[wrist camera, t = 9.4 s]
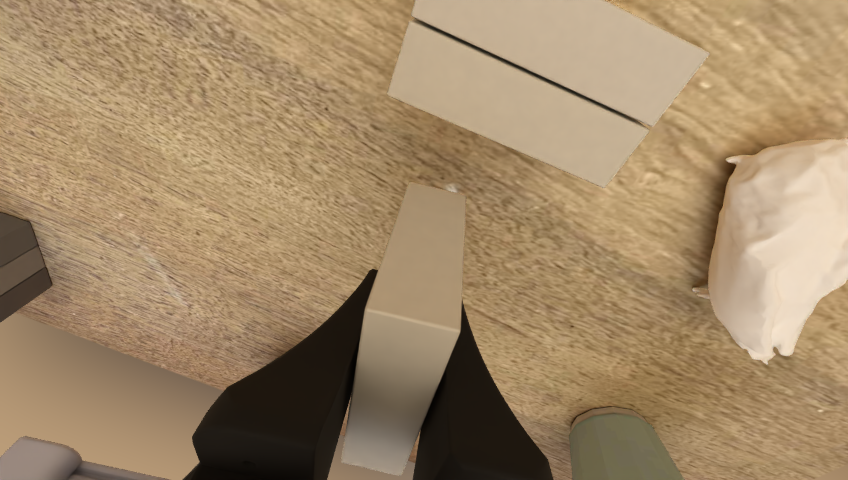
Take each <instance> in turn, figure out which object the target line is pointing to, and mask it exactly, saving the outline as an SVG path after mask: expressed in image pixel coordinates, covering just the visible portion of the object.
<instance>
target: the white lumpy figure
mask: <svg viewBox="0 0 848 480" xmlns="http://www.w3.org/2000/svg"><path fill="white" fill-rule="evenodd" d="M726 161H727V162H730V163H734V164H736V168H735V170H734V172H733V174H732V175H731V176H730V178H729V180H728V183H727V185H726V192H725V196H724V202H723V207H722V209H721V211H720V213H719V221H718V226H717V230H716V237H715V243H714V246H713V249H712V254H711V259H710V264H709V270H708V271H709V275H708V277H709V278H708V288H709V290H708V289H703V288H697V287H694V288H692V290H693V292H700V293H696V295H697V296H699V297H704V298H707V299H710V300H711V304H712V307H713V311H714V313H715V316H716V317H717V318H718V319H719V321H720V322H721V323H722V324H723V325H724V326H725V328H726V329H727V330H728V331H729V333H730V335H731V337H732V338H733V339H734V341H735V342H736V343H737V344H738V345H739V346H740V347H741V348H742V349H748V352H749V354H750V355H751V358H753V359H756V360H762V362H764V363H765V364H767V365H768V362H767V361H768V360H770V359H771V358H772V357H773V356H775V355H776V354H775V353H773V347H774V346H775V347H777V348H778V350H779V353H780V354H781V355H784V356H789V355H791V354H792V353H793V351H794V347H795V344H796V341H797V339H798V337H799V335H800V332H801V330H802V328H803V326H804V324H805V322H806V319H807V318H808V317H809V316H810V315H811V314H812V312H813V310H814V308H815V306H816V304H817V302H818V301H819V300H820V299H821V298H822V297H824V296H826V295H827V294H828V293H830V292H831V291H833V290H835V289H837V288H839V287H841V286H842V285H843V284H845V282H846V281H847V280H848V138H843V139H840V140H836V139H822V140H804V141H794V142H791V143H788V144H783V145H778V146H771V147H767V148H765V149H763V150H761V151H760V152H759V153H757V154H755V155H737V156H732V157H729V158H726Z"/></svg>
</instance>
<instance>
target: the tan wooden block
mask: <svg viewBox="0 0 848 480" xmlns="http://www.w3.org/2000/svg"><path fill="white" fill-rule="evenodd" d="M465 217H466V195H463V194H459V193H455V192H451V191H447V190H443V189H439V188H434V187H430V186H426V185H422V184H418V183H414V182H409V183H408V185H407V188H406V191H405V194H404V197H403V200H402V203H401V206H400V209H399V212H398V214H397V217H396V220H395V223H394V226H393V229H392V232H391V235H390V238H389V241H388V243H387V246H386V249H385V252H384V255H383V258H382V261H381V264H380V267H379V270H378V272H377V275H376V278H375V281H374V284H373V287H372V290H371V293H370V296H369V299H368V301H367V304H366V307H365V311H364V318H363V324H362V331H361V337H360V343H359V350H358V356H357V363H356V369H355V375H354V382H353V388H352V395H351V401H350V407H349V414H348V420H347V427H346V433H345V440H344V446H343V452H342V459H341V462H342V463H346V464H350V465H354V466H359V467H363V468H368V469H372V470H377V471H381V472H386V473H390V474H395V475H399V476H401V475H402V473H403V471H404V468H405V466H406V463H407V461H408V459H409V456H410V454H411V451H412V449H413V446H414V444H415V442H416V439H417V437H418V434H419V432H420V429H421V427H422V424H423V422H424V419H425V417H426V415H427V412H428V410H429V407H430V405H431V402H432V400H433V397H434V395H435V393H436V390H437V388H438V385H439V383H440V380H441V378H442V375H443V373H444V371H445V368H446V366H447V363H448V361H449V358H450V356H451V353H452V351H453V349H454V346H455V344H456V341H457V339H458V336H459V334H460V331H461V309H462V286H463V263H464V240H465Z"/></svg>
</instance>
